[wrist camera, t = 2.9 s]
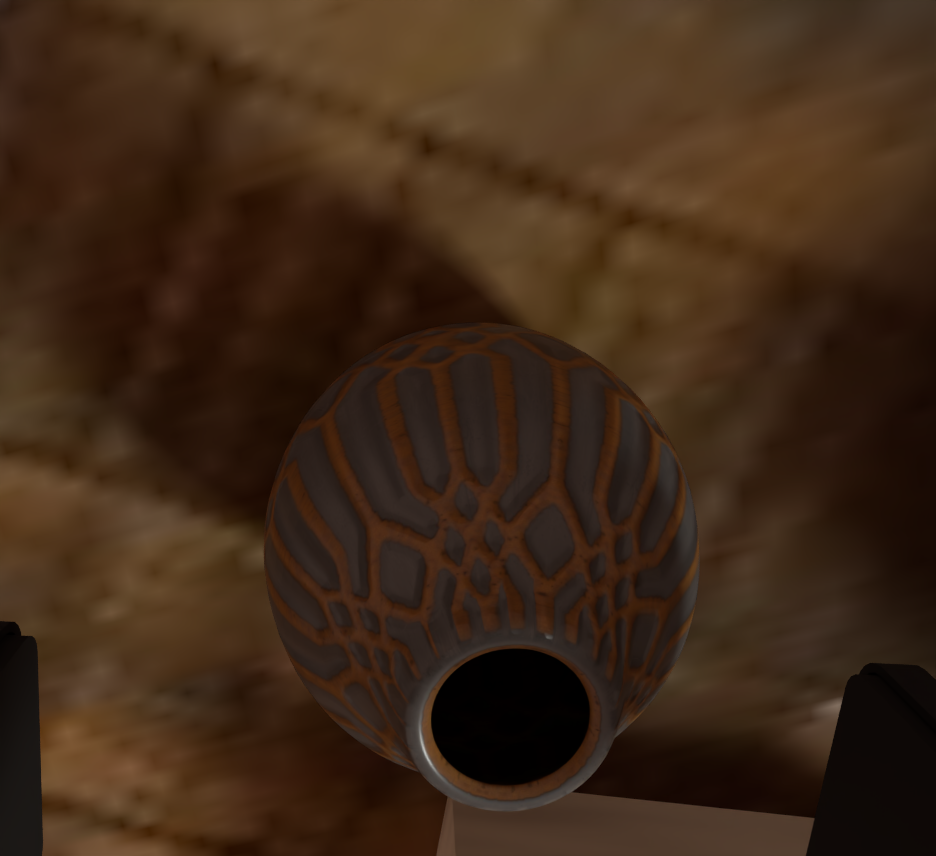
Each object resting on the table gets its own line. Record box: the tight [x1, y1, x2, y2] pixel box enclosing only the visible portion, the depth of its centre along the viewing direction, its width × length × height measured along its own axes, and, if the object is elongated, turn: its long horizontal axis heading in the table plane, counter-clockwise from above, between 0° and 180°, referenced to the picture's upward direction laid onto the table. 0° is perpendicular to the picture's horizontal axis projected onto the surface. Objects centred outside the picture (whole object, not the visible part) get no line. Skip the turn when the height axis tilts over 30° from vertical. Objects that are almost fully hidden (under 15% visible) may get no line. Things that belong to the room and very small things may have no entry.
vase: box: [264, 323, 699, 812], centre depth 14 cm, size 7×7×9 cm
